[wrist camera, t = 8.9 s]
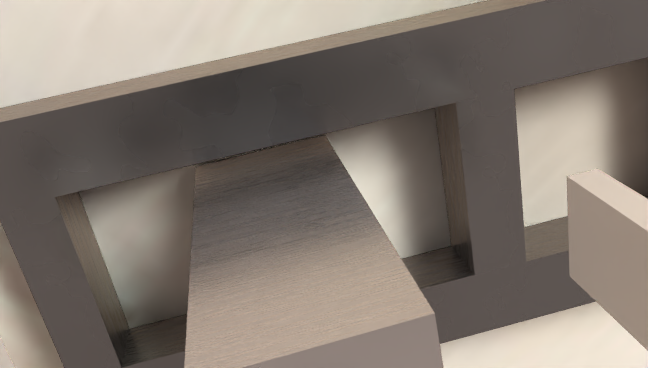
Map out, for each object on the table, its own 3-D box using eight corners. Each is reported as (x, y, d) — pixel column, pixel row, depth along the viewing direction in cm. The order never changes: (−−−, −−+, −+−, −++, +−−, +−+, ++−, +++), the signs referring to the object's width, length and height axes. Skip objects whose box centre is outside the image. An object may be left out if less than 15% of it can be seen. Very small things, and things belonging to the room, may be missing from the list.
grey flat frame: (-12, 110, 17) (-39, 130, 15) (719, -51, 19) (774, -51, 17) (105, 393, 21) (94, 437, 19) (703, 234, 23) (746, 260, 21)
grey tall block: (195, 166, 19) (182, 401, 9) (324, 134, 19) (443, 328, 9) (230, 279, 20) (249, 582, 11) (348, 247, 20) (472, 512, 11)
